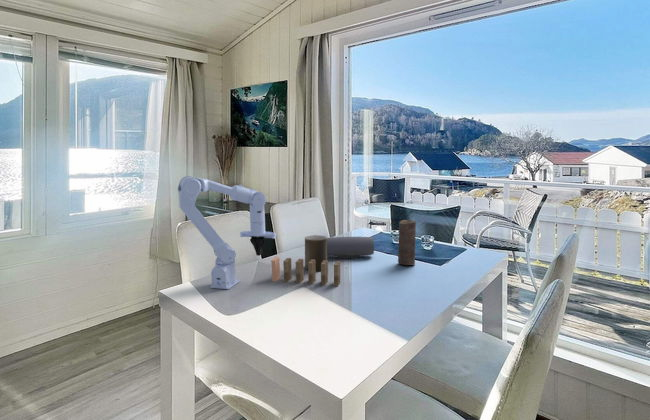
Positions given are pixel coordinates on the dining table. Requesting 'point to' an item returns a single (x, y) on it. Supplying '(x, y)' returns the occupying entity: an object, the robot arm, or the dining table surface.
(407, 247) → the brown wooden cylinder
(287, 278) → the domino
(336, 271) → the domino
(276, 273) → the domino
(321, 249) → the pillar candle
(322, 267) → the domino
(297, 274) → the domino
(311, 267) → the domino
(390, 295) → the dining table surface
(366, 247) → the bluetooth speaker
